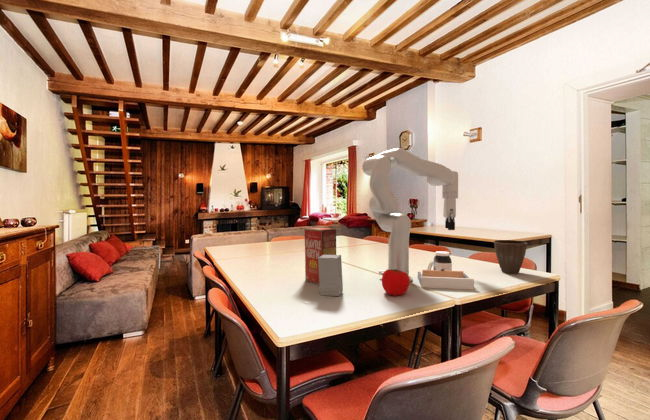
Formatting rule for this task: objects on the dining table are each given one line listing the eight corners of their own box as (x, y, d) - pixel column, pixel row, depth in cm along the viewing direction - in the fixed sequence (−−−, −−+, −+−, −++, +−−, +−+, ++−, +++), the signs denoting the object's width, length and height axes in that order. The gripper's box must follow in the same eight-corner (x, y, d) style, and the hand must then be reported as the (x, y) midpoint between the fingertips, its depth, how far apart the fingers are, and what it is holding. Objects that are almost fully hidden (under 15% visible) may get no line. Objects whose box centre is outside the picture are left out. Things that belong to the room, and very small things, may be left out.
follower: (422, 280, 151) (422, 268, 150) (422, 279, 152) (422, 267, 152) (463, 282, 147) (463, 270, 147) (462, 281, 149) (462, 269, 149)
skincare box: (343, 292, 133) (342, 254, 132) (338, 297, 126) (337, 257, 126) (323, 290, 136) (323, 253, 135) (317, 295, 129) (317, 256, 129)
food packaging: (304, 280, 153) (303, 228, 152) (318, 277, 159) (318, 226, 158) (322, 286, 143) (322, 230, 142) (337, 282, 149) (337, 228, 149)
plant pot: (499, 275, 160) (499, 243, 160) (489, 268, 175) (489, 239, 174) (532, 276, 158) (532, 244, 157) (519, 269, 172) (519, 240, 172)
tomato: (378, 296, 127) (378, 270, 127) (384, 288, 139) (384, 264, 139) (407, 299, 123) (407, 273, 123) (411, 290, 135) (411, 266, 135)
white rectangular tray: (421, 287, 140) (421, 277, 140) (417, 277, 157) (417, 268, 156) (473, 289, 136) (474, 279, 136) (464, 279, 153) (464, 270, 152)
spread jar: (453, 277, 156) (454, 253, 156) (430, 277, 157) (430, 254, 156) (445, 272, 168) (445, 249, 168) (423, 272, 169) (423, 250, 168)
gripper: (440, 195, 174) (440, 227, 174) (444, 195, 157) (444, 230, 157) (455, 195, 172) (454, 227, 173) (461, 195, 155) (460, 230, 156)
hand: (449, 229), depth 165 cm, fingers open, 9 cm apart
